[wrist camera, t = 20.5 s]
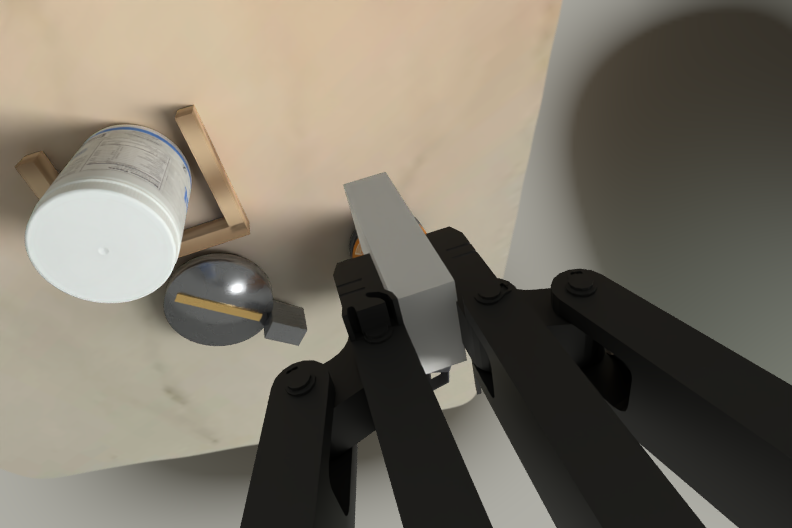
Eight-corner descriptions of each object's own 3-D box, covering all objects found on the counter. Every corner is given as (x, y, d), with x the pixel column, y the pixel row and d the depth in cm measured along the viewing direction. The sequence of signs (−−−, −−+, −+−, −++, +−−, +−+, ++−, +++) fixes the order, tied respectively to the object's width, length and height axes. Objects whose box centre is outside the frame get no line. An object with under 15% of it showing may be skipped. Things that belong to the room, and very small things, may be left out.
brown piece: (25, 155, 42) (14, 167, 40) (194, 105, 44) (191, 113, 42) (107, 268, 50) (102, 282, 48) (249, 222, 51) (249, 234, 49)
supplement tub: (184, 225, 50) (168, 315, 38) (75, 205, 46) (20, 299, 34) (200, 135, 45) (188, 206, 34) (82, 105, 41) (21, 173, 30)
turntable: (152, 321, 53) (147, 346, 50) (184, 240, 49) (180, 261, 46) (281, 349, 60) (283, 372, 57) (318, 279, 56) (323, 300, 53)
